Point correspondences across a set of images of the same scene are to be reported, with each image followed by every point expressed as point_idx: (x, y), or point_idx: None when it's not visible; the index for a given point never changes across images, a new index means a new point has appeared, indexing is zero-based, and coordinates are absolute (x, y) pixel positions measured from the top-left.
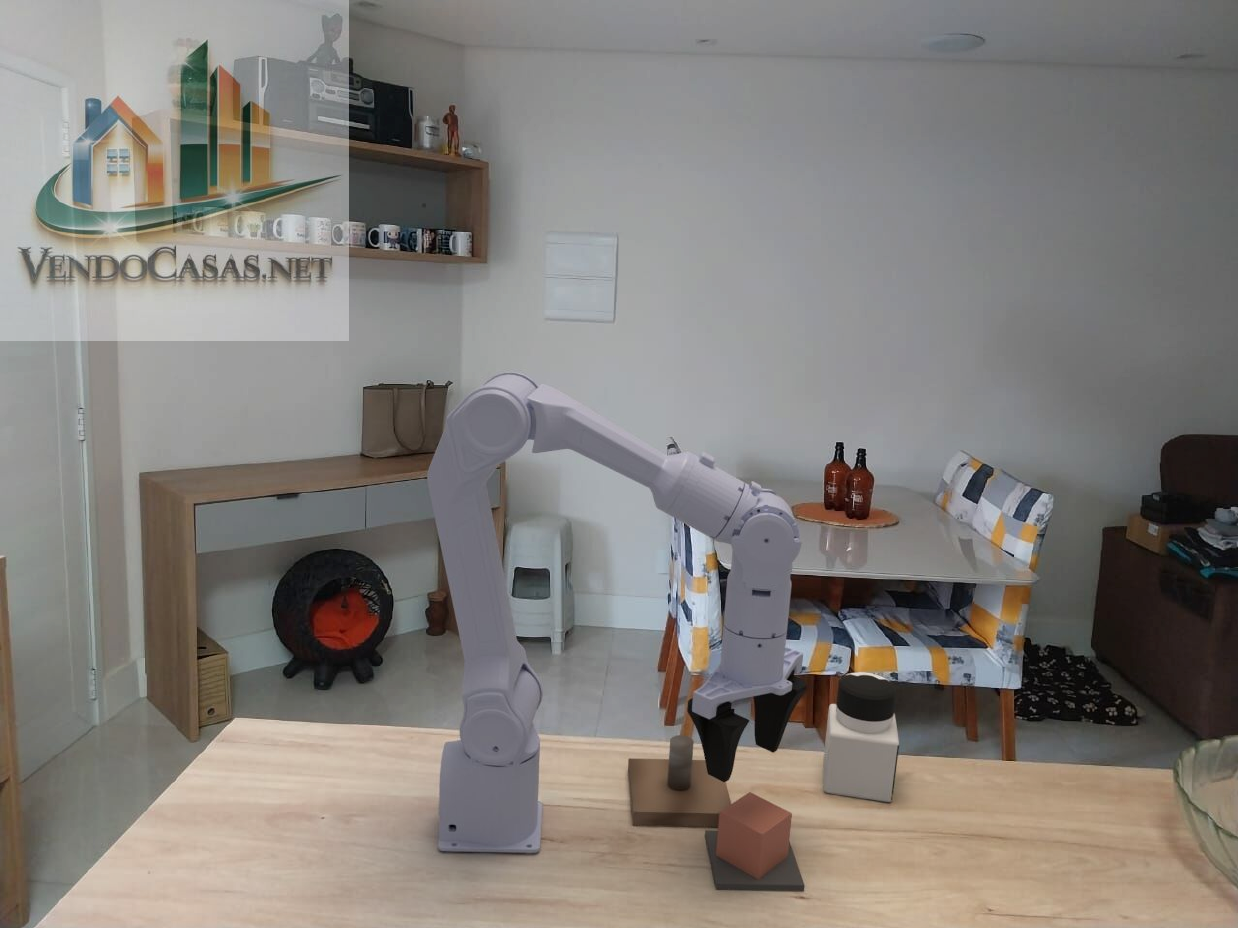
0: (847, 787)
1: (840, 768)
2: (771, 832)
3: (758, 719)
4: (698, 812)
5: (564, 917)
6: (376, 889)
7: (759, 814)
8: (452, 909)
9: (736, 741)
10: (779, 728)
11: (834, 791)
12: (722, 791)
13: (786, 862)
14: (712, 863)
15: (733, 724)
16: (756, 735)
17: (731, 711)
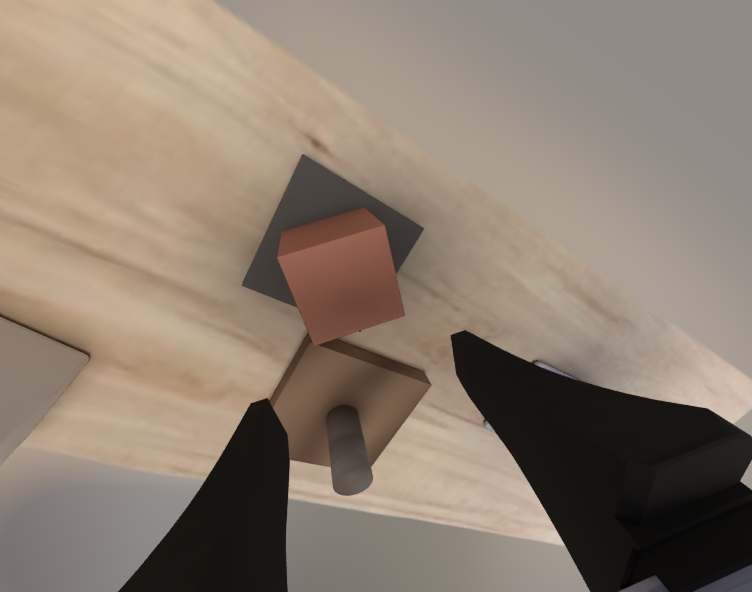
0: (31, 344)
1: (21, 378)
2: (350, 231)
3: (281, 505)
4: (357, 360)
5: (584, 264)
6: (655, 360)
7: (345, 280)
8: (638, 316)
9: (553, 395)
10: (248, 459)
11: (67, 349)
12: (291, 391)
13: (293, 220)
14: (399, 268)
15: (743, 444)
16: (287, 456)
17: (654, 530)
